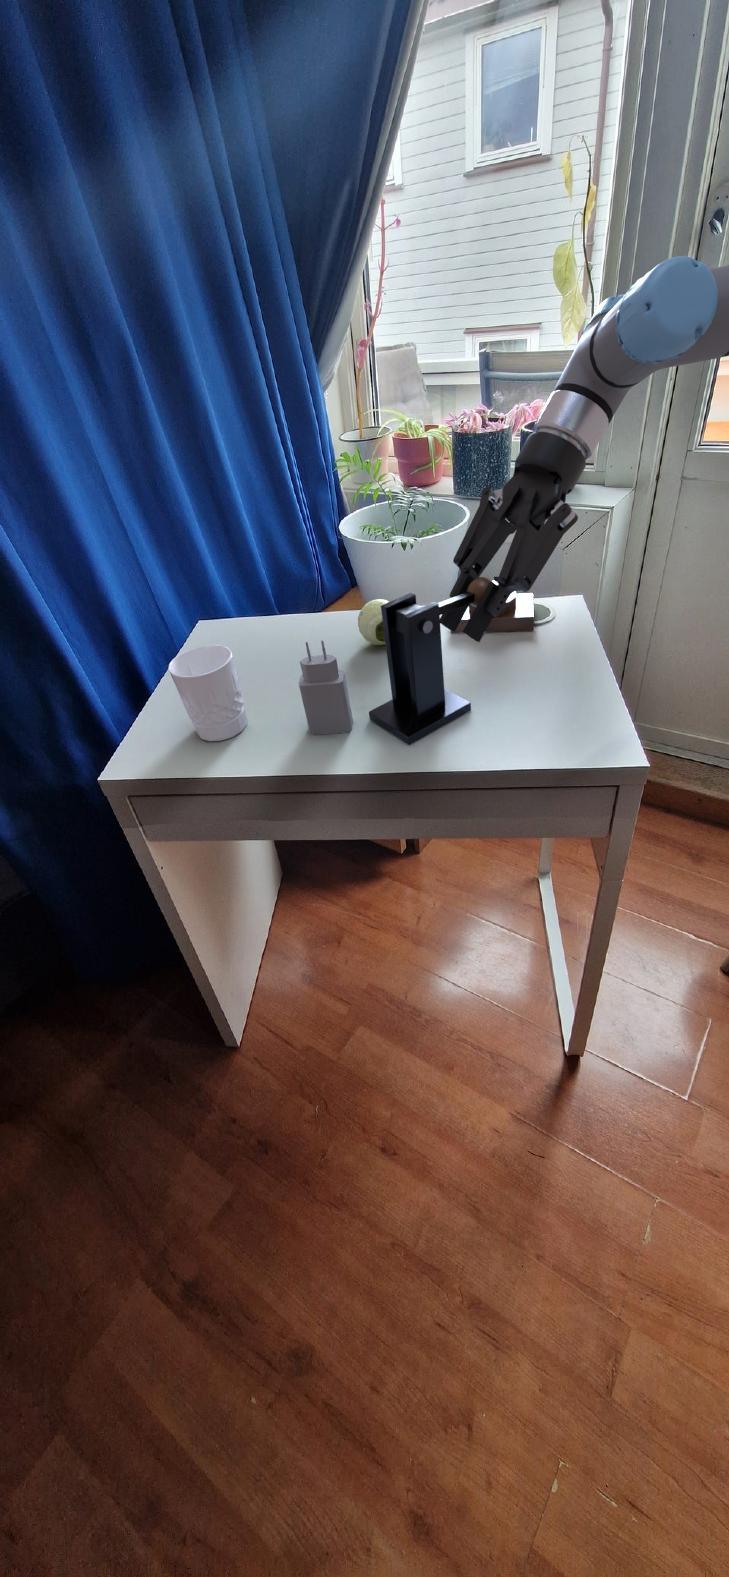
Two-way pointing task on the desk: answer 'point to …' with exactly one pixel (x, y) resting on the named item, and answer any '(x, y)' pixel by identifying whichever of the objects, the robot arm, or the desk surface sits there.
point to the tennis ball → (372, 622)
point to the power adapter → (325, 695)
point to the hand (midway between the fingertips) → (458, 631)
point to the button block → (508, 615)
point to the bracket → (416, 674)
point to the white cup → (210, 691)
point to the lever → (449, 601)
